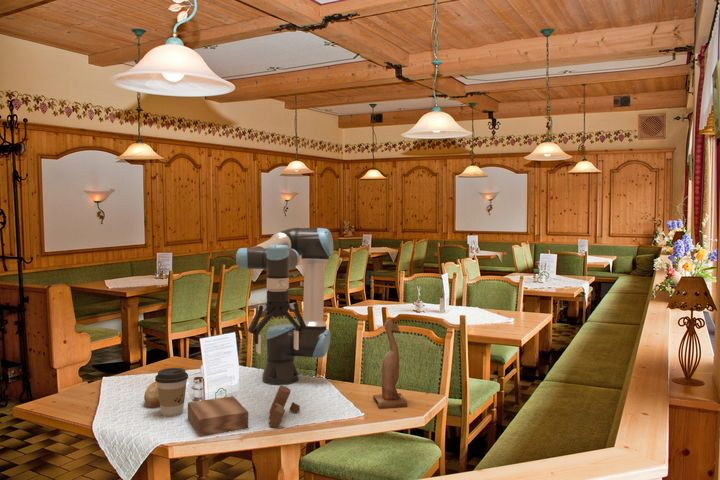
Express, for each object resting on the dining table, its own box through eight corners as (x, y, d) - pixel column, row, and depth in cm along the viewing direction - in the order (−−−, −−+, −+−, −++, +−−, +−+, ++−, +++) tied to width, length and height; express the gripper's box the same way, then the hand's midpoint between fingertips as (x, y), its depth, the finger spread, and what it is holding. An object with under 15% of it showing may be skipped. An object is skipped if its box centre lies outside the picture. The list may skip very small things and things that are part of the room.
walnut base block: (233, 412, 212) (233, 396, 212) (248, 429, 197) (248, 411, 196) (187, 419, 205) (187, 402, 205) (199, 437, 189) (199, 419, 189)
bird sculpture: (409, 407, 219) (412, 321, 218) (378, 409, 216) (382, 322, 215) (399, 398, 230) (402, 316, 229) (370, 399, 227) (373, 316, 226)
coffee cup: (175, 420, 203) (174, 377, 202) (148, 416, 207) (147, 373, 206) (195, 409, 214) (195, 368, 213) (169, 405, 218) (168, 365, 217)
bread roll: (179, 396, 229) (179, 375, 229) (165, 409, 214) (165, 387, 214) (155, 395, 230) (155, 375, 229) (139, 408, 215) (139, 387, 214)
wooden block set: (278, 435, 197) (290, 409, 195) (256, 423, 199) (267, 397, 197) (297, 415, 214) (308, 390, 212) (276, 403, 216) (287, 379, 214)
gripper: (245, 293, 195) (245, 357, 196) (315, 289, 206) (315, 349, 207) (239, 290, 201) (239, 352, 202) (307, 286, 213) (307, 345, 214)
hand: (277, 351), depth 205 cm, fingers open, 13 cm apart
